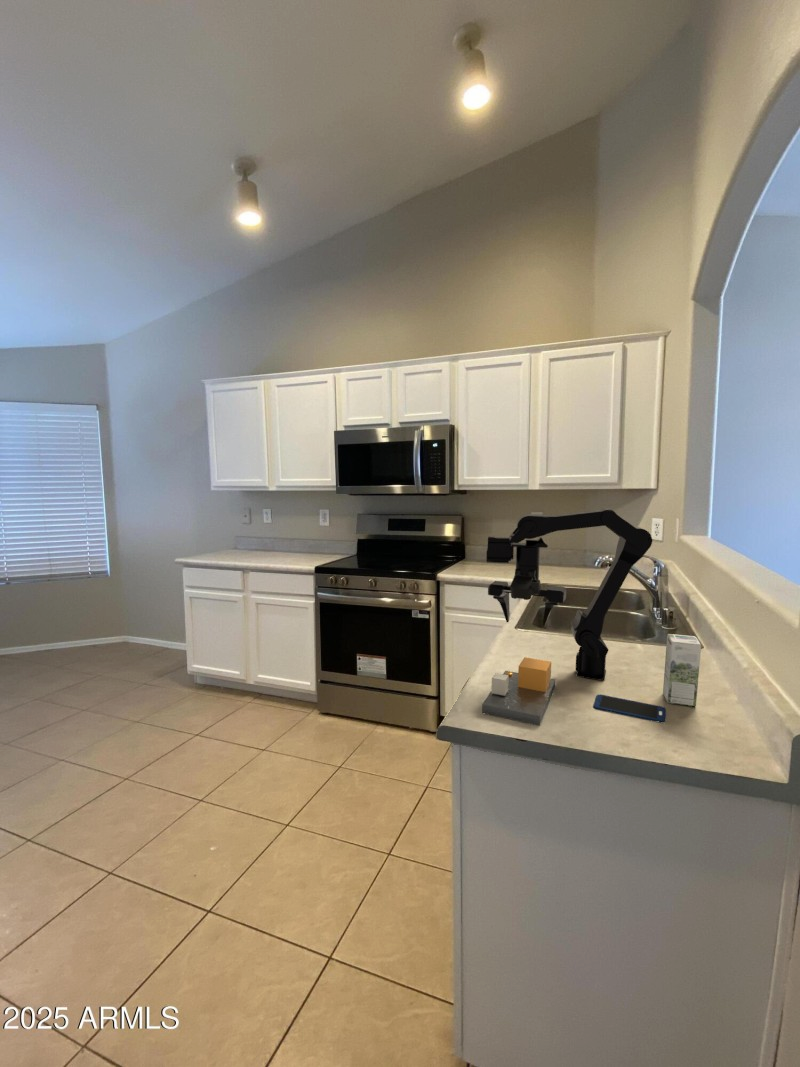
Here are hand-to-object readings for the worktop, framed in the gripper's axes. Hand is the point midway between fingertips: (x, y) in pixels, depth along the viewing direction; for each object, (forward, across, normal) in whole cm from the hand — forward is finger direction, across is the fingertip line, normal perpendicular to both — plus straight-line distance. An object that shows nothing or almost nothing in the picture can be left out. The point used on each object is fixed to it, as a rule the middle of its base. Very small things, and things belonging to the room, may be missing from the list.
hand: (525, 624), depth 128 cm
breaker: (+10, -1, -21) cm, 23 cm away
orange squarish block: (+10, +5, -13) cm, 17 cm away
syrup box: (+12, +35, -3) cm, 37 cm away
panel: (+12, +3, -18) cm, 22 cm away
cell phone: (+13, +25, -12) cm, 30 cm away
